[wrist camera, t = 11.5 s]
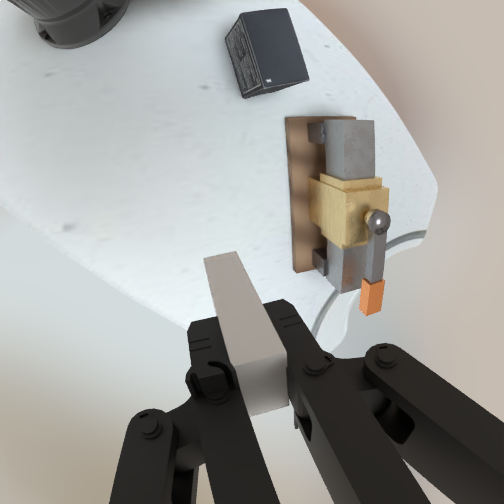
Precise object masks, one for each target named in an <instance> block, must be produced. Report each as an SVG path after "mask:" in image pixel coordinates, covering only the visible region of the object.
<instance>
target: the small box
mask: <svg viewBox="0 0 504 504" xmlns="http://www.w3.org/2000/svg"><path fill="white" fill-rule="evenodd" d="M225 40H226V44H227V47H228V50H229V54H230V57H231V60H232V64H233V67H234V70H235V74H236V77H237V80H238V83H239V87H240V90H241V93H242V97H243V98H245V99H246V98H250V97H252V96H253V97H254V96H257V95H260V94H266V93H271V92H275V91H279V90H282V89H284V88H287V87H290V86H293V85H296V84H299V83H302V82H305V81H309V80H310V79H309V75H308V72H307V68H306V65H305V62H304V59H303V55H302V52H301V49H300V46H299V43H298V39H297V36H296V33H295V30H294V27H293V24H292V21H291V18H290V15H289V12H288V10H287V9H286V8H280V9H268V10H259V11H251V12H244V13H241V14H240V15H239V18H238V20H237V21H236V23H235V24H234V26H233V27H232V29H231V30H230V32H229V33H228V35H227V36H226V37H225Z"/></svg>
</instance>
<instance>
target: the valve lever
mask: <svg viewBox="0 0 504 504" xmlns="http://www.w3.org/2000/svg"><path fill="white" fill-rule="evenodd" d="M390 221H391V220H390V216H389V214H388V213H386V212H384V211H382V210H380V209H373V210H371V211H370V212H369V213H368V214H367V216H366V220H365V225H366V227H367V229H368V242H367V258H366V271H365V278H362V286H361V296H360V306H359V309H360V310H361V311H362V312H363V313H364V314H365V315H366V316H368V315H371V314H373V313H376V312H379V311H381V305H382V298H383V291H384V284H385V280H383V279H382V278H383V270H384V260H385V250H386V238H387V230H388V228H389V226H390Z"/></svg>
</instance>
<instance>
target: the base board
mask: <svg viewBox="0 0 504 504" xmlns="http://www.w3.org/2000/svg"><path fill="white" fill-rule="evenodd" d="M324 120H356V117H339V116H318V117H286V118H285V126H286V139H287V152H288V167H289V183H290V201H291V221H292V244H293V270H294V271H295V272H296V273H300V272H305V271H309V270H314V269H316V268H315V267H314V266H313V265H312V249H316V248H321V247H326V246H327V238H326V237H325V236H324V235H322V234H321V227H319V226H318V225H316V224H315V223H314V222H312V221H311V220H310V219H309V202H308V177H311V176H320V173H326V149H325V144H319V143H312V142H309V141H308V126H307V123H324Z"/></svg>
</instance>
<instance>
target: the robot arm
mask: <svg viewBox="0 0 504 504" xmlns="http://www.w3.org/2000/svg"><path fill="white" fill-rule="evenodd" d="M8 1H9V2H11V3H13V4H14V5H16V6H17V7H19V8H20V9H22V10H23V11H25V12H26V13H28V14H29V15H31V16H32V17H33V18H34V22H35V25H36V29H37V32H38V34H39V35H40V37H41V38H42V39H43V40H44V41H46V42H47V43H49V44H50V45H52V46H54V47H57V48H63V49H70V48H77V47H81V46H84V45H87V44H89V43H91V42H93V41H95V40H97V39H99V38H100V37H102V36H103V35H105V34H106V33H107V32H109V31H110V30H111V29H112V28H113V27H114V26H115V25H116V24H117V23H118V22H119V20H120V19H121V18H122V16H123V15H124V13H125V11H126V9H127V7H128V5H129V1H130V0H8ZM203 259H204V264H205V268H206V273H207V277H208V282H209V286H210V291H211V295H212V299H213V303H214V308H215V312H216V315H217V316H216V317H211V318H207V319H203V320H198V321H194V322H191V324H190V326H189V329H188V331H187V336H188V343H189V351H190V358H191V367H190V369H189V370H188V372H187V374H186V379H185V382H186V384H187V386H188V389H189V391H190V393H191V397H190V398H189V399H188V400H187V401H186V402H185V403H184V404H182V405H181V406H179V407H177V408H175V409H173V410H171V411H169V412H167V413H165V412H164V411H162V410H158V409H146V410H144V411H141V412H139V413H137V414H136V415H135V416H134V417H133V418H132V419H131V421H130V423H129V425H128V428H127V431H126V435H125V439H124V443H123V446H122V451H121V454H120V459H119V463H118V466H117V471H116V475H115V479H114V484H113V488H112V493H111V497H110V502H109V504H196V496H197V495H196V494H197V483H198V472H199V466H200V465H202V464H204V463H205V464H206V469H207V473H208V477H209V482H210V486H211V490H212V494H213V498H214V503H215V504H280V502H279V499H278V496H277V494H276V491H275V488H274V486H273V483H272V480H271V478H270V475H269V472H268V470H267V467H266V464H265V461H264V458H263V455H262V453H261V450H260V447H259V444H258V441H257V438H256V435H255V432H254V429H253V427H252V423H251V420H250V417H251V416H255V415H258V414H262V413H266V412H269V411H272V410H276V409H279V408H283V407H286V406H289V399H290V401H291V403H292V406H293V408H294V425H295V429H298V427H299V429H300V431H301V433H302V435H303V437H304V440H305V442H306V444H307V446H308V448H309V451H310V453H311V455H312V457H313V459H314V462H315V464H316V466H317V468H318V470H319V472H320V474H321V476H322V478H323V481H324V483H325V485H326V487H327V489H328V491H329V493H330V495H331V498H332V500H333V502H334V504H431V503H430V501H429V500H428V498H427V497H426V495H425V493H424V492H423V491H422V489H421V487H420V485H419V484H418V482H417V481H416V479H415V478H414V476H413V475H412V473H411V471H410V470H409V468H408V467H407V465H406V464H405V462H404V461H403V459H404V460H405V461H406V462H407V463H408V464H409V465H411V466H412V467H413V468H414V469H415V470H416V471H417V472H419V473H420V474H421V475H422V476H423V477H425V478H426V479H427V480H428V481H429V482H430V483H431V484H433V485H434V486H435V487H436V488H437V489H438V490H440V491H441V492H442V493H443V494H445V495H446V496H447V497H448V498H449V499H451V500H452V501H453V502H454V503H455V504H504V423H503V422H502V421H501V420H499V419H498V418H497V417H495V416H494V415H492V414H491V413H489V412H488V411H487V410H486V409H484V408H483V407H481V406H480V405H479V404H477V403H476V402H475V401H473V400H472V399H470V398H469V397H468V396H466V395H465V394H464V393H462V392H461V391H459V390H458V389H457V388H455V387H454V386H452V385H451V384H450V383H448V382H447V381H446V380H444V379H443V378H441V377H440V376H439V375H437V374H436V373H435V372H433V371H432V370H430V369H429V368H428V367H426V366H425V365H423V364H422V363H421V362H419V361H418V360H416V359H415V358H414V357H412V356H411V355H409V354H408V353H407V352H405V351H404V350H402V349H401V348H399V347H397V346H395V345H393V344H388V343H382V344H377V345H375V346H372V347H371V348H370V349H369V350H368V351H367V352H366V355H365V357H360V358H351V359H340V358H335V357H334V356H333V355H332V354H330V353H328V352H326V351H323V350H322V349H321V348H320V346H319V344H318V343H317V341H316V340H315V338H314V337H313V335H312V334H311V332H310V331H309V329H308V327H307V326H306V324H305V323H304V322H303V320H302V318H301V317H300V315H299V314H298V312H297V310H296V309H295V307H294V306H293V305H292V304H290V303H289V302H287V301H286V300H284V299H281V300H277V301H273V302H269V303H265V304H262V302H261V300H260V298H259V296H258V294H257V292H256V290H255V288H254V286H253V284H252V282H251V280H250V278H249V276H248V274H247V272H246V270H245V268H244V266H243V264H242V262H241V260H240V258H239V256H238V254H237V252H236V251H234V252H229V253H225V254H220V255H216V256H211V257H207V258H203ZM401 457H402V458H403V459H402V458H401Z"/></svg>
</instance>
